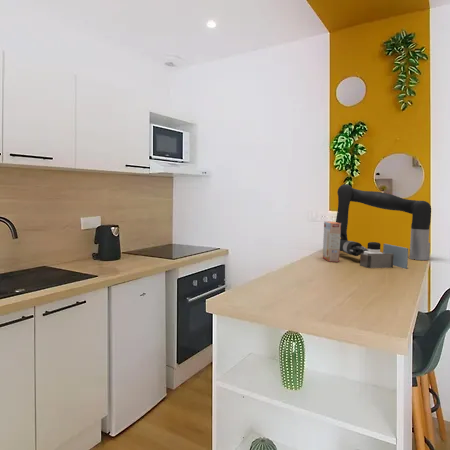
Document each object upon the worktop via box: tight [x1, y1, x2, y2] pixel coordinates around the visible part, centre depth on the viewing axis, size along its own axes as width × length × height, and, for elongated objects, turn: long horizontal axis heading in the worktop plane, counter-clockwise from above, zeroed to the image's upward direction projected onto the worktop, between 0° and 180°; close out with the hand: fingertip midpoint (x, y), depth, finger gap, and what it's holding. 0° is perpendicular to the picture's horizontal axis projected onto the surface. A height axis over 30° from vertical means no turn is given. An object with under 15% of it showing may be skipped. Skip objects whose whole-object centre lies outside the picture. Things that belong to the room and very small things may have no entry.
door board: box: [382, 243, 409, 270], centre depth 193 cm, size 1×18×10 cm, turn 11°
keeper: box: [359, 252, 394, 269], centre depth 189 cm, size 13×8×7 cm, turn 101°
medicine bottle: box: [364, 241, 383, 255], centre depth 190 cm, size 7×7×12 cm
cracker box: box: [322, 221, 341, 263], centre depth 206 cm, size 14×6×21 cm, turn 179°
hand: (369, 252), depth 194 cm, fingers closed
